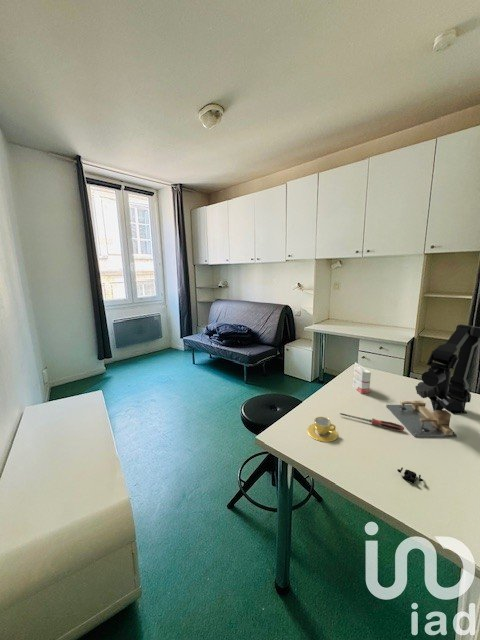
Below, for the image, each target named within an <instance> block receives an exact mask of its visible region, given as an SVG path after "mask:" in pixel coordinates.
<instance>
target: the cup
mask: <svg viewBox="0 0 480 640" xmlns="http://www.w3.org/2000/svg"><path fill="white" fill-rule="evenodd" d="M336 427H337V426H336V425H335V424H334V423H332V421H331V419H330V418H327V417H326V416H325V417H324V416H317V417H315V418H314V423H312V424H310V425H308V427H307V433H308V435H309V436H310V437H311V438H312V439H314V440H316V441H319V442H324V443H329V442H333V441H336V440H337V439H338V437H339V432H338V430H337V429H336ZM316 432H317V433H318V434H319V435H318V434H317V433H316ZM327 433H329V435H328V436H324V435H327ZM320 435H321V436H320Z"/></svg>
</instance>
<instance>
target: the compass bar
mask: <svg viewBox="0 0 480 640" xmlns="http://www.w3.org/2000/svg"><path fill="white" fill-rule="evenodd" d="M399 404H400V405H402V408H403V409H404V405H413V406H412V407H413V408H414V409H417V410H419V411H420V412H421V413H422V414H423V415H424V416H425V417H426V418H433V416H434V412H432V411H431V410H429V409H428V408H427V407H426V405H427V403H426V402H425V401H424V400H409V401H408V400H407V401H406V400H402V401H400V402H399ZM439 429H440V430H441V431H442V432H443V433H444V434H445V435H452V434H453V432H454V430H453V429H452V428H451V427H450V426H449V427H448V426H447V425H446V424H440V426H439Z"/></svg>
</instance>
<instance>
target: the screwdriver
mask: <svg viewBox="0 0 480 640" xmlns="http://www.w3.org/2000/svg"><path fill="white" fill-rule="evenodd" d="M339 415H341V416H344V417H345V416H346V417H349V418H351V419H357V420H361V421H366V422H369V423H371V425H372V426H374V425H375V426H379V427H381V428H386V429H388V430H392V431H398V432H403V431H405V426H404V425H403V424H402V425H401V424H398V423H396V422H392V421H385V420H379V419H375V418H374V417H373V418H371V419H369V418H364V417H359V416H355V415H352V414H351V415H350V414H346V413H341V412H339Z"/></svg>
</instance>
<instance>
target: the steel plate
mask: <svg viewBox="0 0 480 640" xmlns="http://www.w3.org/2000/svg"><path fill="white" fill-rule="evenodd" d="M385 406H386V407H385V408H386V409H388V411H390V412H391V414H392V415H393V416H394V417H395V418H396V419H397V420H398V422H400V423H401V424H402V426H403V427H404V428H405V429H406V430H407V431H408V432H409V433H410V434H411V435H412V436H413V438H458V434H457V433H456V432H455V431H453V434H452V435H445V434H444V433H443V432H442V431H441V430H440V429H439V428H436V427H435V426H434V425H433V424H432V422H425V423H424V427H422V426H421V424H422V422H421V421H420V420H419V419H420V418H426V417H425V416H424V415H423V414H422V413H421V412H420V411H419V410H417V409H414V408H413V407H412V406H413V405H412V404H405V405H404V409H403V408H402V404H386V405H385Z"/></svg>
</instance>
